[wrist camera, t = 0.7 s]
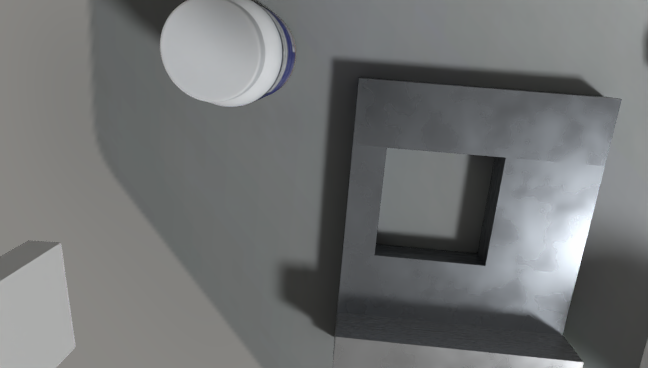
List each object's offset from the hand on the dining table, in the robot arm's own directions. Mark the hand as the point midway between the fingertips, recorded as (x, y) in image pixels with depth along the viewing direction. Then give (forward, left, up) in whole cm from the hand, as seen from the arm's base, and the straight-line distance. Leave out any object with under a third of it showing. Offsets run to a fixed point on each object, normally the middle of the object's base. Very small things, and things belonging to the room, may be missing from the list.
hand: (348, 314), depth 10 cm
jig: (+6, +8, -22) cm, 24 cm away
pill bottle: (-5, -7, -22) cm, 24 cm away
